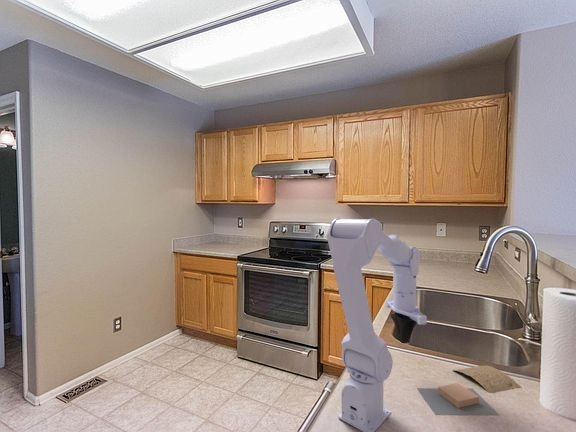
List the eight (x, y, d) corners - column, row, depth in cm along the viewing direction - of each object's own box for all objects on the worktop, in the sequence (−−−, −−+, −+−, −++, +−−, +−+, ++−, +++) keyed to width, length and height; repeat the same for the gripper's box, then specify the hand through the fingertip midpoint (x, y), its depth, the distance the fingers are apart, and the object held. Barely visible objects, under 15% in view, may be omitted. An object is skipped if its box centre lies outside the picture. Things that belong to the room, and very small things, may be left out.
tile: (438, 393, 75) (458, 408, 69) (438, 386, 75) (458, 401, 69) (457, 389, 77) (478, 403, 71) (457, 382, 77) (479, 396, 71)
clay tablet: (526, 393, 76) (526, 383, 76) (495, 401, 73) (495, 390, 73) (474, 366, 90) (474, 357, 90) (447, 372, 87) (447, 362, 87)
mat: (435, 416, 67) (435, 414, 67) (416, 389, 77) (416, 388, 77) (499, 416, 67) (499, 414, 67) (472, 390, 77) (472, 388, 77)
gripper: (437, 297, 75) (436, 352, 76) (400, 283, 89) (400, 330, 90) (412, 299, 73) (412, 355, 74) (379, 285, 87) (379, 332, 88)
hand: (404, 342), depth 81 cm, fingers closed
